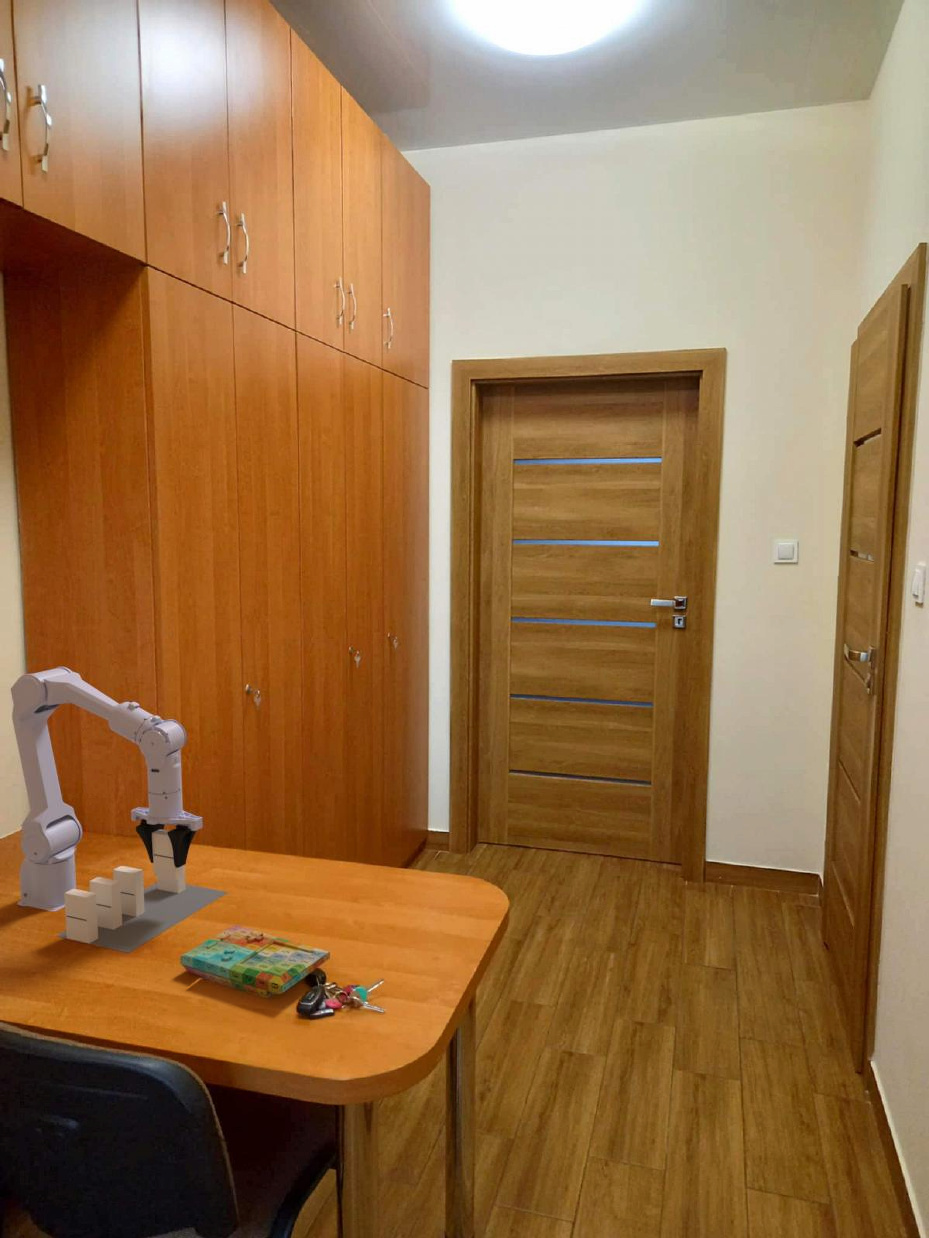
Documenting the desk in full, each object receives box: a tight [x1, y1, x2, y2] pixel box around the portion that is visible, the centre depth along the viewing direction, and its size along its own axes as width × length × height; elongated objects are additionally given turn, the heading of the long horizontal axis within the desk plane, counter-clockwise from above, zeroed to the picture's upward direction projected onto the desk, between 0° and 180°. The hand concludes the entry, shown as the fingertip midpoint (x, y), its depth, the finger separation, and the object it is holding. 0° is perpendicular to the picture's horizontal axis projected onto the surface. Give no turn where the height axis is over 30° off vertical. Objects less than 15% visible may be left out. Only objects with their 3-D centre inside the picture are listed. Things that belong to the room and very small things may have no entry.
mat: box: [55, 881, 229, 954], centre depth 160 cm, size 16×26×1 cm, turn 157°
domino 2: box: [89, 876, 122, 930], centre depth 155 cm, size 2×5×8 cm, turn 67°
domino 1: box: [64, 888, 98, 944], centre depth 150 cm, size 2×5×8 cm, turn 67°
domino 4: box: [152, 829, 183, 880], centre depth 159 cm, size 2×5×8 cm, turn 67°
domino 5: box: [156, 864, 186, 893], centre depth 170 cm, size 2×5×8 cm, turn 67°
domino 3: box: [112, 865, 145, 917], centre depth 160 cm, size 2×5×8 cm, turn 67°
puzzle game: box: [180, 924, 331, 999], centre depth 139 cm, size 12×5×20 cm
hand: (168, 863), depth 159 cm, fingers closed on domino 4, 5 cm apart
